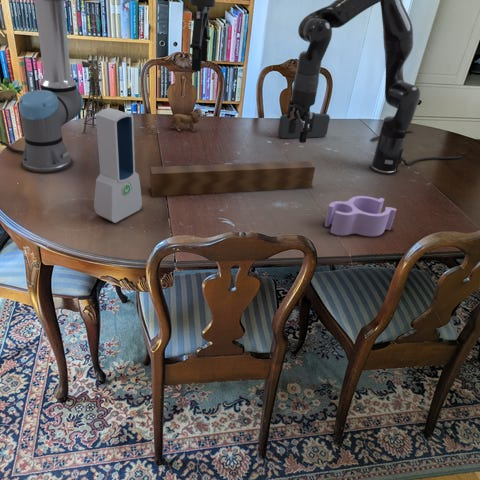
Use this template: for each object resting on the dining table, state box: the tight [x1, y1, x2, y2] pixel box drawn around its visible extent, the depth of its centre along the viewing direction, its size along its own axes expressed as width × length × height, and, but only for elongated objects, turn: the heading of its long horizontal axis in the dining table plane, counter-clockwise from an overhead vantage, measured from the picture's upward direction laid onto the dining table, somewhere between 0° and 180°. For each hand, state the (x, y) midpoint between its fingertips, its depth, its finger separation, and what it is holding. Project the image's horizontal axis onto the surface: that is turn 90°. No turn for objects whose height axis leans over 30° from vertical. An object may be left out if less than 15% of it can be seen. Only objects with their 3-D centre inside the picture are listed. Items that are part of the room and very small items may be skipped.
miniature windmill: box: [81, 53, 107, 133], centre depth 181 cm, size 9×8×30 cm
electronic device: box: [93, 107, 143, 224], centre depth 129 cm, size 12×8×30 cm, turn 148°
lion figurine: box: [167, 107, 203, 132], centre depth 197 cm, size 15×5×9 cm, turn 110°
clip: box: [324, 195, 398, 237], centre depth 141 cm, size 20×12×7 cm, turn 109°
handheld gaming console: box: [277, 113, 331, 139], centre depth 203 cm, size 23×3×10 cm, turn 108°
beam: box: [149, 160, 316, 198], centre depth 155 cm, size 55×5×8 cm, turn 107°
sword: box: [371, 131, 411, 142], centre depth 217 cm, size 31×3×1 cm, turn 126°
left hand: (199, 65), depth 148 cm, fingers open, 13 cm apart
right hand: (296, 137), depth 153 cm, fingers open, 8 cm apart
